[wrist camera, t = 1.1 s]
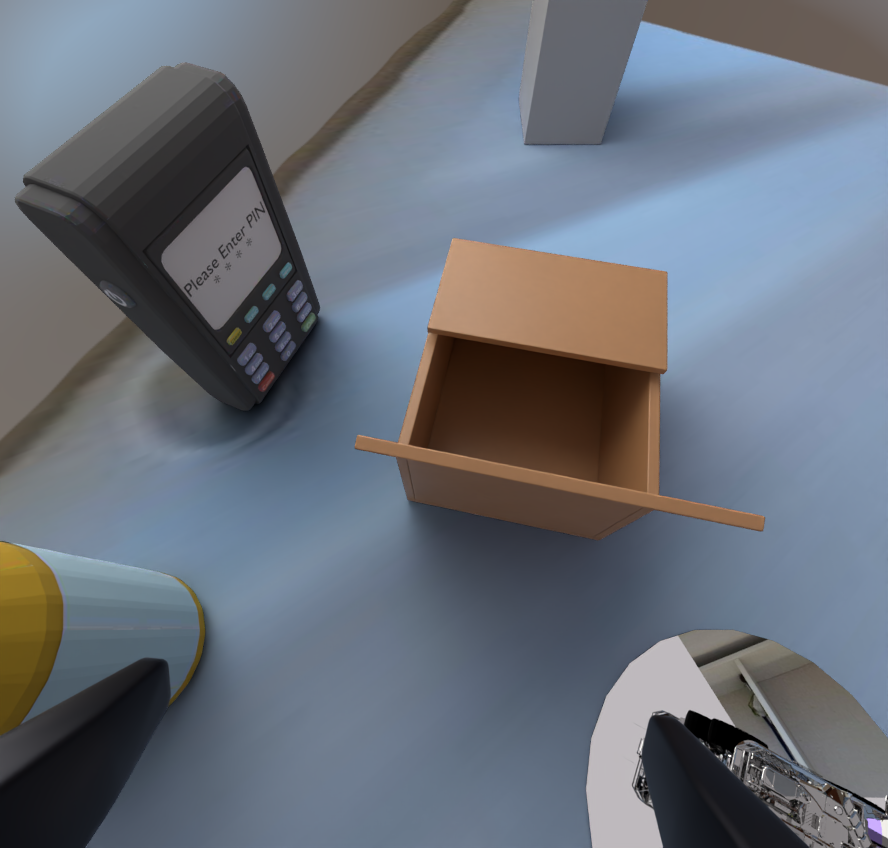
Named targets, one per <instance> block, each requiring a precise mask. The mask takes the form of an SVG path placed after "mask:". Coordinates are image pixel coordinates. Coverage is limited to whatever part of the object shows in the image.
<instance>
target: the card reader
mask: <svg viewBox="0 0 888 848" xmlns="http://www.w3.org/2000/svg"><path fill="white" fill-rule="evenodd" d="M23 183H24V185H25V186H26V187H25V188H24V189H23V190H22V191H20V192H19V193H18V194H17V195H16V197H15V203H16V204H17V206H18V207H19V209H20V210H21V211H22V212H23V213H24V214H25V215H26V216H27V217H28V219H29V220H30V221H32V223H33V224H34V225H36V227H37V228H38V229H40V231H41V232H43V234H44V235H45V236H46V237H47V238H48V239H50V240H51V242H53V244H54V245H55V246H56V247H58V249H59V250H60V251H62V252H63V253H64V254H65V256H66V257H67V258H68V259H70V260H71V261H72V262H73V263H74V264H75V265H76V266H77V267H78V268H79V269H80V270H81V271H82V272H83V273H84V274H85V275H86V276H87V277H88V278H89V279H90V280H91V281H92V282H93V283H94V284H95V285H96V286H97V287H98V288H99V289H100V290H101V291H102V292H103V293H104V294H105V295H106V296H107V297H108V298H109V299H110V300H111V301H112V302H113V303H114V304H115V305H116V306H117V307H119V309H121V311H122V312H124V314H125V315H126V316H128V317H129V318H130V319H131V320H132V321H133V322H134V323H135V324H136V325H137V326H138V327H139V328H140V329H141V330H142V331H143V332H144V333H145V334H146V335H147V336H148V337H149V338H150V339H151V340H152V341H153V342H154V343H155V344H156V345H157V346H158V347H159V348H160V349H161V350H162V351H163V352H164V353H165V354H166V355H168V356H169V357H170V358H171V359H172V360H173V361H174V362H175V363H176V364H177V365H178V366H179V367H181V368H182V369H183V370H184V371H185V372H186V373H187V374H188V375H189V376H190V377H191V378H192V379H194V380H195V381H196V382H197V383H198V384H199V385H200V386H201V387H202V388H203V389H204V390H206V391H207V392H208V393H209V394H210V395H212V396H213V397H215V398H216V399H218V400H219V401H221V402H224V403H226V404H228V405H231V406H233V407H235V408H238V409H240V410H242V411H248V410H250V409H251V408H252V407H253V405H254V404H255V403H261V401H262V400H263V398H264V397H265V395H266V394H267V393H268V391H269V390H270V388H271V387H272V385H273V384H274V383H275V381H276V380H277V378H278V377H279V375H280V374H281V373H282V371H283V370H284V368H285V367H286V365H287V364H288V363H289V361H290V360H291V358H292V357H293V355H294V354H295V353H296V351H297V350H298V348H299V347H300V345H301V344H302V343H303V341H304V340H305V338H306V337H307V335H308V334H309V333H310V331H311V330H312V328H313V327H314V325H315V324H316V323H317V321H318V315H317V314H318V313H319V311H320V306H319V302H318V299H317V296H316V293H315V290H314V288H313V285H312V282H311V279H310V276H309V273H308V270H307V267H306V265H305V262H304V259H303V256H302V253H301V250H300V248H299V245H298V242H297V240H296V237H295V234H294V232H293V229H292V226H291V223H290V221H289V218H288V215H287V213H286V210H285V207H284V205H283V202H282V199H281V197H280V194H279V191H278V188H277V186H276V183H275V180H274V178H273V175H272V172H271V170H270V167H269V164H268V162H267V159H266V156H265V153H264V151H263V148H262V145H261V143H260V140H259V138H258V135H257V132H256V130H255V127H254V125H253V122H252V119H251V117H250V114H249V111H248V109H247V106H246V104H245V102H244V100H243V97H242V95H241V94H240V93H239V91H238V90H237V88H236V87H235V85H234V84H233V83H232V82H231V81H230V80H229V79H228V78H227V77H226V76H225V75H224V74H222V73H221V72H218V71H214V70H211V69H207V68H204V67H200V66H196V65H193V64H190V63H180V64H178V65H176V66H175V67H171V66H161V67H160V68H159V69H157V70H156V71H155V72H154V73H152V74H151V75H150V76H149V77H147V78H146V79H145V80H144V81H142V82H141V83H140V84H138V85H137V86H136V87H135V88H133V89H132V90H131V91H130V92H128V93H127V94H126V95H125V96H123V97H122V98H121V99H120V100H118V101H117V102H116V103H115V104H113V105H112V106H111V107H109V108H108V109H107V110H106V111H105V112H103V113H102V114H101V115H99V116H98V117H97V118H96V119H94V120H93V121H92V122H90V123H89V124H88V125H87V126H85V127H84V128H83V129H82V130H80V131H79V132H78V133H77V134H75V135H74V136H73V137H72V138H71V139H69V140H68V141H66V142H65V143H64V144H63V145H61V146H60V147H59V148H58V149H56V150H55V151H54V152H53V153H51V154H50V155H49V156H48V157H46V158H45V159H44V160H42V161H41V162H40V163H39V164H38V165H36V166H35V167H34V168H32V169H31V170H30V171H29V172H27V173H26V174H25V175H24V177H23Z"/></svg>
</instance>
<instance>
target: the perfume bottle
mask: <svg viewBox="0 0 888 848" xmlns="http://www.w3.org/2000/svg"><path fill="white" fill-rule="evenodd" d="M647 1H648V0H533V2H532V9H531V16H530V23H529V30H528V37H527V44H526V51H525V58H524V64H523V71H522V78H521V85H520V92H519V105H520V113H521V122H522V130H523V138H524V144H601V142H602V139H603V135H604V132H605V129H606V126H607V123H608V120H609V117H610V114H611V111H612V108H613V105H614V102H615V99H616V96H617V93H618V90H619V87H620V83H621V80H622V77H623V74H624V71H625V68H626V65H627V62H628V59H629V56H630V53H631V50H632V47H633V44H634V41H635V38H636V35H637V31H638V28H639V25H640V22H641V19H642V16H643V13H644V10H645V7H646V4H647Z"/></svg>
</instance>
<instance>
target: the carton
mask: <svg viewBox="0 0 888 848" xmlns="http://www.w3.org/2000/svg"><path fill="white" fill-rule="evenodd" d="M666 371H667V272H665V271H659V270H652V269H646V268H640V267H633V266H627V265H621V264H615V263H608V262H602V261H596V260H589V259H583V258H577V257H570V256H564V255H558V254H551V253H545V252H539V251H532V250H526V249H520V248H513V247H507V246H501V245H494V244H488V243H482V242H475V241H469V240H463V239H456V238H453V239H452V242H451V246H450V249H449V253H448V256H447V260H446V264H445V267H444V271H443V274H442V278H441V281H440V285H439V288H438V292H437V296H436V299H435V303H434V306H433V310H432V313H431V317H430V320H429V324H428V336H427V340H426V343H425V347H424V350H423V354H422V358H421V361H420V365H419V368H418V372H417V376H416V379H415V383H414V386H413V390H412V394H411V397H410V401H409V404H408V408H407V412H406V415H405V419H404V422H403V426H402V430H401V433H400V437H399V440H398V443H402V444H407V445H412V446H417V447H422V448H427V449H432V450H437V451H442V452H447V453H452V454H457V455H461V456H466V457H471V458H476V459H481V460H486V461H491V462H496V463H501V464H506V465H511V466H516V467H521V468H526V469H531V470H536V471H541V472H546V473H551V474H556V475H561V476H566V477H571V478H576V479H581V480H586V481H591V482H596V483H601V484H606V485H611V486H616V487H621V488H626V489H631V490H636V491H641V492H646V493H651V494H656V495H659V457H660V374H664V373H665V372H666ZM396 459H397V463H398V466H399V470H400V474H401V477H402V481H403V485H404V488H405V492H406V496H407V499H408V500H410V501H414V502H419V503H424V504H429V505H433V506H438V507H443V508H447V509H452V510H457V511H462V512H466V513H471V514H476V515H480V516H485V517H490V518H495V519H499V520H504V521H509V522H514V523H518V524H523V525H528V526H532V527H537V528H542V529H547V530H551V531H556V532H561V533H566V534H570V535H575V536H580V537H584V538H589V539H594V540H601V539H603V538H605V537H606V536H608V535H610V534H612V533H614V532H615V531H617V530H619V529H621V528H623V527H624V526H626V525H628V524H630V523H632V522H633V521H635V520H637V519H639V518H641V517H642V516H644V515H646V514H648V513H650V512H651V511H653V509H648V508H643V507H638V506H633V505H628V504H623V503H618V502H613V501H609V500H604V499H599V498H594V497H589V496H584V495H579V494H574V493H569V492H564V491H559V490H555V489H550V488H545V487H540V486H535V485H530V484H525V483H520V482H515V481H510V480H505V479H501V478H496V477H491V476H486V475H481V474H476V473H471V472H466V471H461V470H456V469H451V468H447V467H442V466H437V465H432V464H427V463H422V462H417V461H412V460H407V459H402V458H397V457H396Z"/></svg>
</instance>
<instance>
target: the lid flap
mask: <svg viewBox="0 0 888 848" xmlns="http://www.w3.org/2000/svg"><path fill="white" fill-rule="evenodd" d="M355 449H358V450H363V451H368V452H373V453H378V454H383V455H388V456H392V457H397V458H402V459H407V460H412V461H417V462H422V463H427V464H432V465H437V466H442V467H447V468H451V469H456V470H461V471H466V472H471V473H476V474H481V475H486V476H491V477H496V478H501V479H505V480H510V481H515V482H520V483H525V484H530V485H535V486H540V487H545V488H550V489H555V490H559V491H564V492H569V493H574V494H579V495H584V496H589V497H594V498H599V499H604V500H609V501H613V502H618V503H623V504H628V505H633V506H638V507H643V508H648V509H653V510H658V511H663V512H668V513H672V514H677V515H682V516H687V517H692V518H697V519H702V520H707V521H712V522H717V523H722V524H726V525H731V526H736V527H741V528H746V529H751V530H756V531H763V529H764V522H765V517H764V516H761V515H756V514H751V513H746V512H741V511H736V510H731V509H726V508H721V507H716V506H711V505H706V504H701V503H696V502H691V501H686V500H681V499H676V498H671V497H666V496H661V495H656V494H651V493H646V492H641V491H636V490H631V489H626V488H621V487H616V486H611V485H606V484H601V483H596V482H591V481H586V480H581V479H576V478H571V477H566V476H561V475H556V474H551V473H546V472H541V471H536V470H531V469H526V468H521V467H516V466H511V465H506V464H501V463H496V462H491V461H486V460H481V459H476V458H471V457H466V456H461V455H457V454H452V453H447V452H442V451H437V450H432V449H427V448H422V447H417V446H412V445H407V444H402V443H397V442H392V441H387V440H382V439H377V438H372V437H367V436H362V435H358V436H357V438H356V443H355Z"/></svg>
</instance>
